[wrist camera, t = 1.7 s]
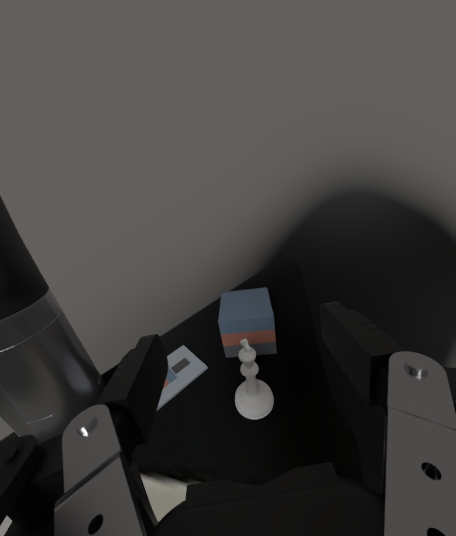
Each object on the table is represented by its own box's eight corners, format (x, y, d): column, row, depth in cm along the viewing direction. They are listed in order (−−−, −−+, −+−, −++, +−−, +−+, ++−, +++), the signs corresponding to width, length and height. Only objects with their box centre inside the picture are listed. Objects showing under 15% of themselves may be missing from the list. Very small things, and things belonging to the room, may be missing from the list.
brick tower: (276, 353, 34) (273, 316, 31) (225, 357, 35) (218, 321, 32) (269, 320, 41) (266, 287, 38) (228, 324, 42) (221, 292, 39)
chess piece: (259, 375, 31) (251, 319, 27) (282, 405, 27) (277, 344, 22) (228, 394, 29) (215, 336, 25) (247, 428, 25) (236, 366, 21)
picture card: (146, 419, 28) (145, 417, 27) (127, 386, 33) (126, 384, 32) (207, 368, 33) (207, 366, 33) (183, 346, 38) (183, 344, 38)
